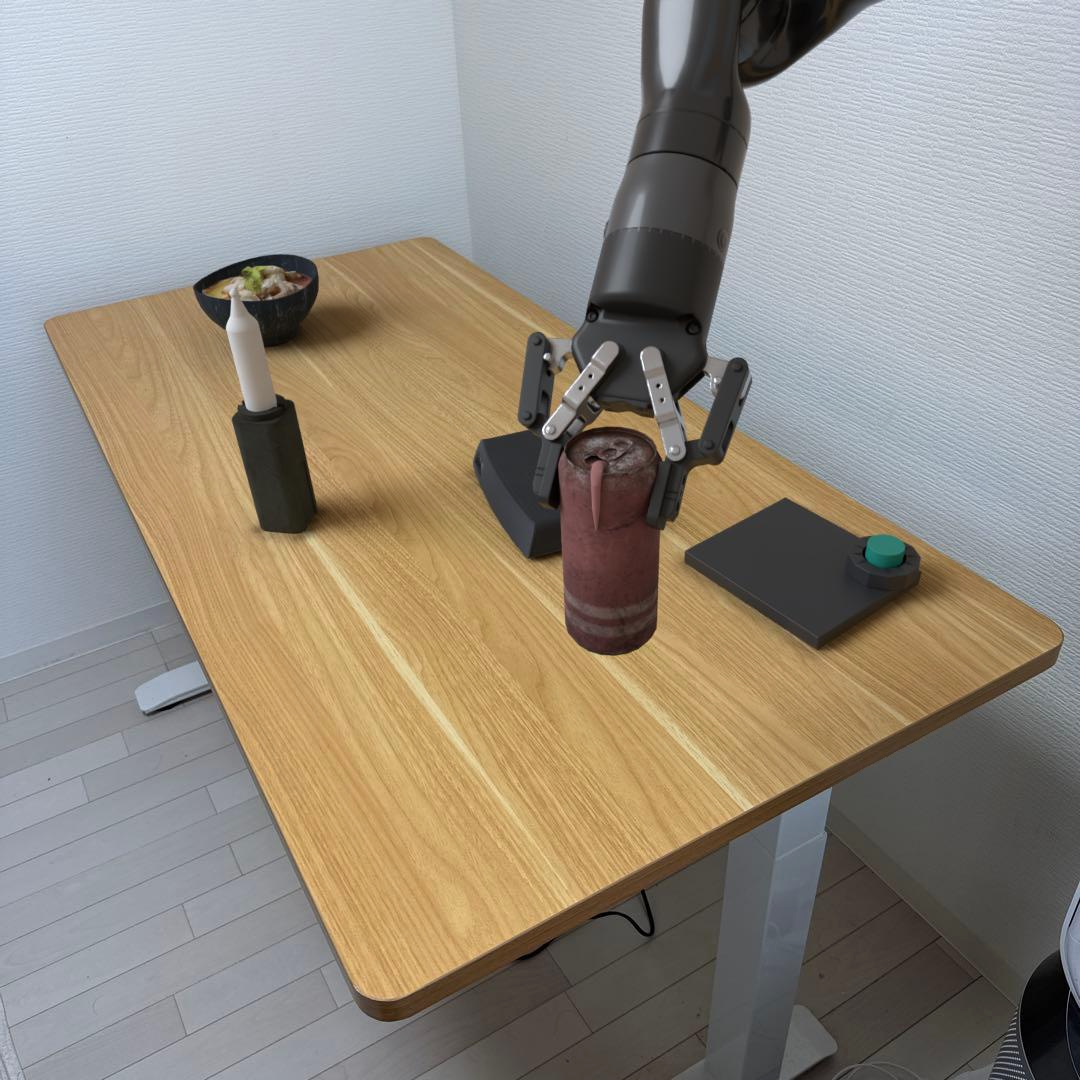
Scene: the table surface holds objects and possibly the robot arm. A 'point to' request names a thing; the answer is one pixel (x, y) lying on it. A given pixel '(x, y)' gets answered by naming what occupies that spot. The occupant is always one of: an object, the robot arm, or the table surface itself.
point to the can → (609, 539)
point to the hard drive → (517, 492)
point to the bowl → (263, 293)
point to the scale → (802, 571)
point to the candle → (268, 433)
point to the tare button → (885, 551)
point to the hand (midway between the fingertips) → (599, 515)
